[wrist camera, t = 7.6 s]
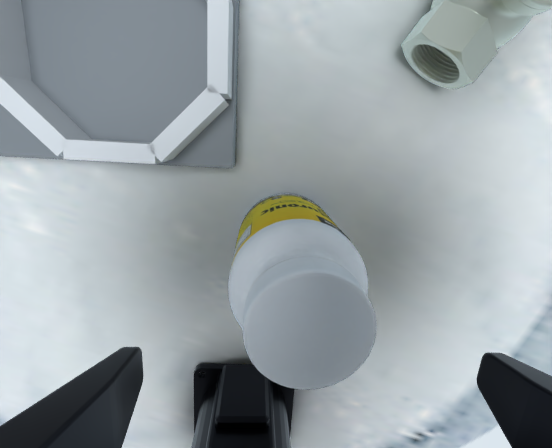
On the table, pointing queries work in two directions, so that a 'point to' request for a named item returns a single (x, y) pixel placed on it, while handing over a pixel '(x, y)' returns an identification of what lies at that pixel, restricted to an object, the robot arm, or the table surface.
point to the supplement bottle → (300, 294)
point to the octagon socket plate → (120, 80)
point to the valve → (465, 37)
